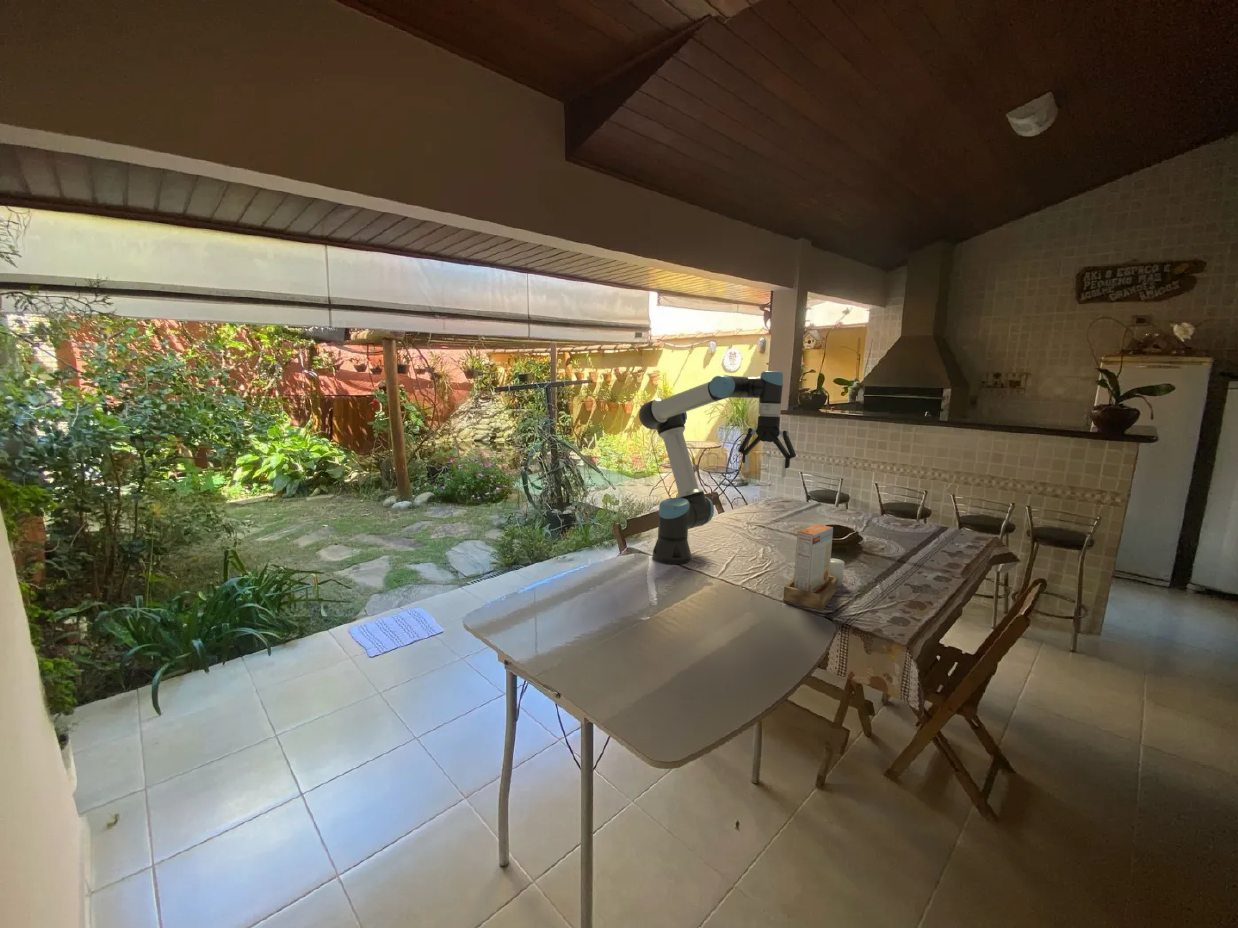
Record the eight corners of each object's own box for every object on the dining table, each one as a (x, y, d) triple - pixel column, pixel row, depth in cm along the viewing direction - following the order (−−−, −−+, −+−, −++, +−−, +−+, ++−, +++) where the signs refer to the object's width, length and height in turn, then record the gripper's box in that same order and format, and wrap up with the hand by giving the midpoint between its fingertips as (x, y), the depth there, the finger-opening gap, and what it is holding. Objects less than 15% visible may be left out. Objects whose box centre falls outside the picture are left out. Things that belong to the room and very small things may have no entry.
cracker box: (811, 581, 168) (817, 523, 165) (828, 586, 164) (834, 527, 161) (791, 591, 159) (796, 530, 156) (808, 597, 155) (814, 534, 152)
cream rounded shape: (822, 583, 171) (824, 561, 170) (826, 578, 176) (828, 557, 175) (840, 587, 168) (842, 565, 166) (843, 582, 172) (846, 560, 171)
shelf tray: (783, 599, 156) (784, 586, 156) (800, 581, 172) (801, 569, 172) (822, 610, 149) (823, 596, 149) (836, 589, 165) (838, 577, 165)
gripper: (731, 413, 176) (727, 471, 179) (802, 417, 161) (796, 480, 165) (739, 413, 182) (735, 469, 185) (808, 417, 167) (803, 477, 171)
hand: (764, 474), depth 175 cm, fingers open, 13 cm apart
